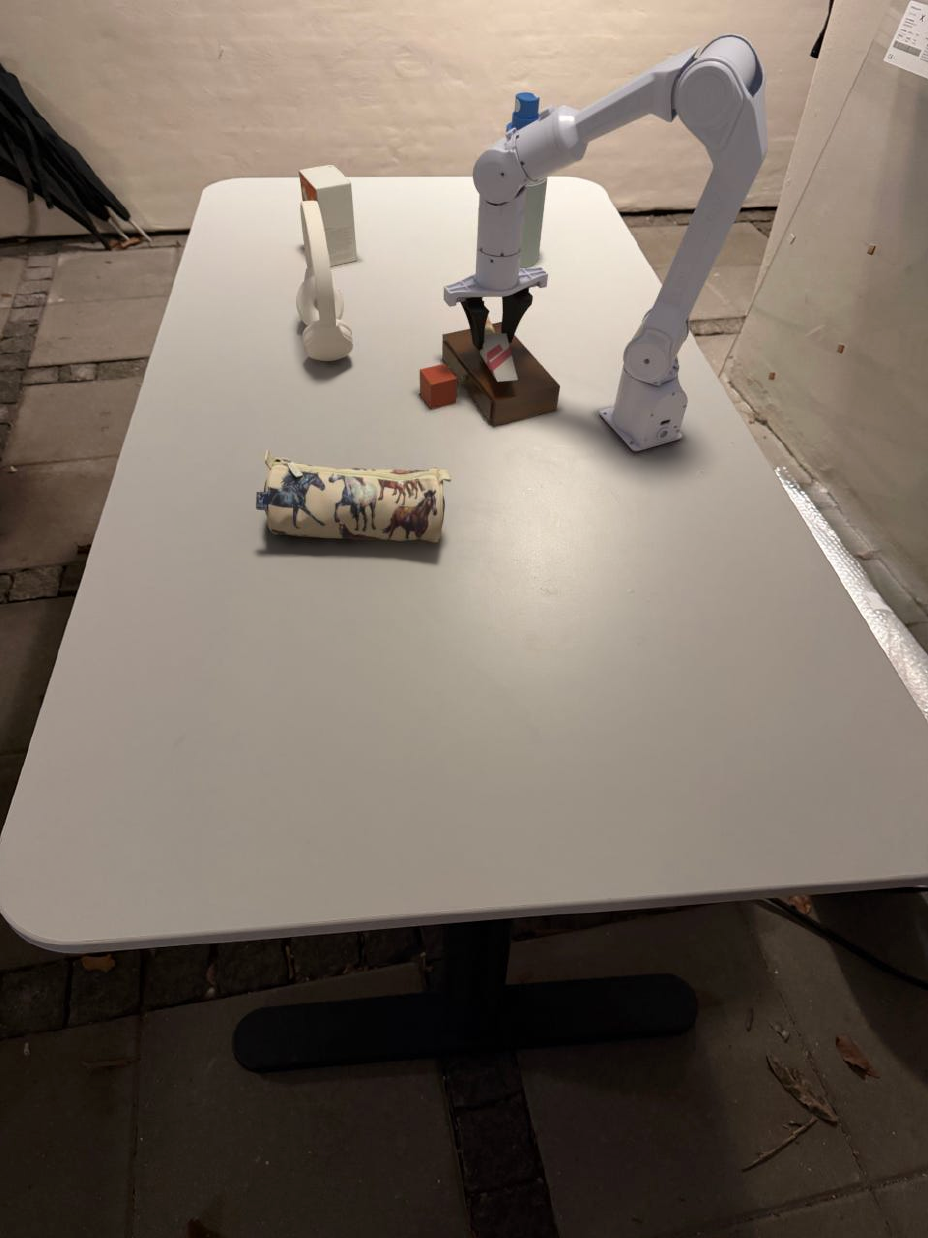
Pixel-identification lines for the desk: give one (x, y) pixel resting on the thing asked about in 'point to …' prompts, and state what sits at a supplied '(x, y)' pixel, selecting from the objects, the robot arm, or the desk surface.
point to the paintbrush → (498, 354)
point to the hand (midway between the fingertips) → (492, 342)
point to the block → (438, 386)
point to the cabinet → (505, 397)
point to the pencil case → (352, 502)
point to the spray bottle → (534, 192)
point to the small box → (332, 209)
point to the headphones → (320, 294)
